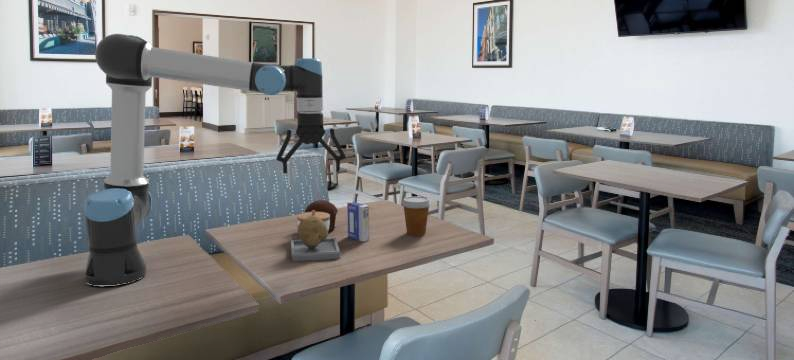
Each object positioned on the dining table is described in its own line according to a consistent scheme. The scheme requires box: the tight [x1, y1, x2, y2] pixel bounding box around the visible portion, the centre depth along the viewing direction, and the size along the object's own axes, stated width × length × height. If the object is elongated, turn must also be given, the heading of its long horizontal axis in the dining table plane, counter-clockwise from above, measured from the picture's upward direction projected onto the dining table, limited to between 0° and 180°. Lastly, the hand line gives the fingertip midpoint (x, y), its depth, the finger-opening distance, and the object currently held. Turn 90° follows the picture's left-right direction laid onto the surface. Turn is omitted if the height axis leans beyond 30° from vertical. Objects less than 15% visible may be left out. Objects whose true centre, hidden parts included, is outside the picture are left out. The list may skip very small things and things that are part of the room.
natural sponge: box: [297, 216, 329, 249], centre depth 179 cm, size 9×9×10 cm
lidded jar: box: [296, 210, 330, 230], centre depth 194 cm, size 11×11×9 cm
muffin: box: [304, 199, 339, 233], centre depth 203 cm, size 12×11×10 cm
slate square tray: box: [290, 237, 341, 262], centre depth 180 cm, size 14×14×2 cm
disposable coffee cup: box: [401, 195, 431, 237], centre depth 199 cm, size 10×10×12 cm
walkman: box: [346, 201, 370, 243], centre depth 193 cm, size 8×3×12 cm, turn 43°
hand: (312, 183), depth 176 cm, fingers open, 13 cm apart
